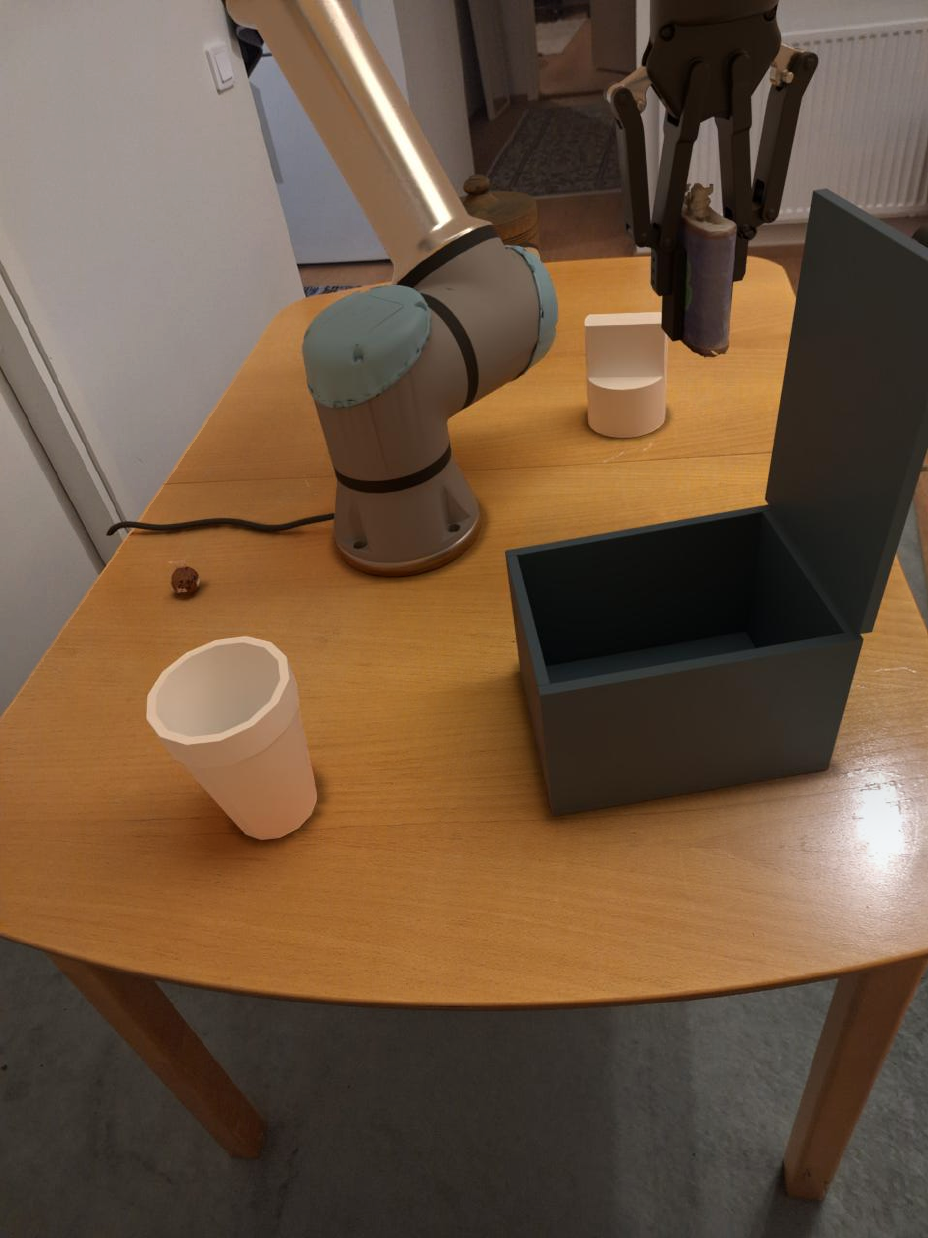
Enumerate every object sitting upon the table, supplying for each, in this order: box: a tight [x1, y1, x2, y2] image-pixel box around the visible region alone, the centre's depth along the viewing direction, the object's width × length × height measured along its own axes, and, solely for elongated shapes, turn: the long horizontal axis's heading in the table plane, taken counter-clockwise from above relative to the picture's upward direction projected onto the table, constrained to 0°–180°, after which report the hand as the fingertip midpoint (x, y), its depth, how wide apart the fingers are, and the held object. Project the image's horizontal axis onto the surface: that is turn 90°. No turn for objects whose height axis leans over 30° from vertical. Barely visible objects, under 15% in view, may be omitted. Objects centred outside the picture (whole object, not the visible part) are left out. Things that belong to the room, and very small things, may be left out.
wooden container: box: [458, 173, 542, 262], centre depth 108 cm, size 15×15×22 cm
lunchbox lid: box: [764, 187, 928, 635], centre depth 46 cm, size 21×15×6 cm
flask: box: [677, 182, 737, 358], centre depth 59 cm, size 9×3×11 cm, turn 7°
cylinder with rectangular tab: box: [584, 311, 669, 439], centre depth 91 cm, size 9×9×12 cm
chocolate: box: [168, 558, 201, 595], centre depth 81 cm, size 3×2×4 cm
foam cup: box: [145, 635, 318, 841], centre depth 57 cm, size 10×9×13 cm
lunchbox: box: [504, 503, 864, 817], centre depth 58 cm, size 20×15×13 cm
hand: (694, 328), depth 62 cm, fingers closed on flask, 3 cm apart
